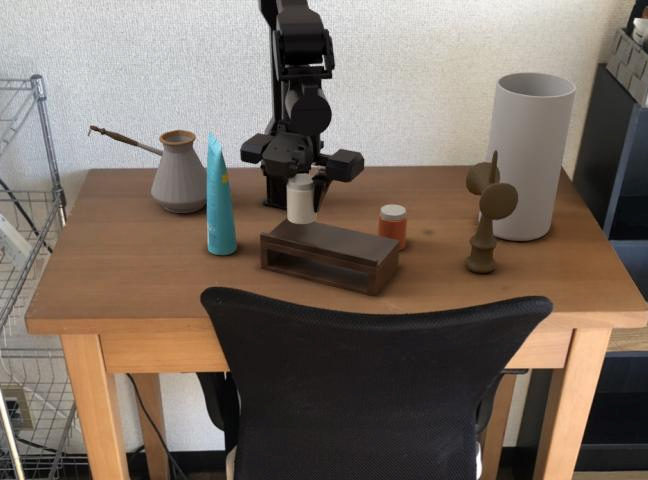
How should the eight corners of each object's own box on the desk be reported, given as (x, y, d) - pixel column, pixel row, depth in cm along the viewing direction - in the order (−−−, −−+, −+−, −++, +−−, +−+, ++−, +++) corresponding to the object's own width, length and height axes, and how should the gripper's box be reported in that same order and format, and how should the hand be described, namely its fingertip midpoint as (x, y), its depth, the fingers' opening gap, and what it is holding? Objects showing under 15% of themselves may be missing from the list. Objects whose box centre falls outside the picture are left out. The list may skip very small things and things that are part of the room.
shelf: (261, 268, 138) (259, 234, 134) (289, 242, 145) (288, 209, 141) (374, 296, 131) (376, 261, 127) (398, 268, 138) (400, 233, 134)
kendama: (470, 283, 134) (485, 163, 122) (454, 254, 142) (467, 138, 130) (506, 281, 135) (525, 161, 123) (489, 252, 142) (505, 137, 130)
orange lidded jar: (372, 247, 143) (374, 212, 140) (383, 235, 147) (385, 201, 143) (399, 253, 142) (401, 218, 138) (409, 241, 145) (412, 206, 141)
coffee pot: (217, 190, 161) (211, 113, 152) (212, 217, 152) (206, 136, 143) (105, 191, 161) (92, 113, 152) (93, 218, 152) (79, 137, 142)
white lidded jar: (281, 220, 134) (280, 181, 130) (295, 208, 137) (295, 170, 133) (309, 226, 132) (308, 187, 128) (322, 214, 136) (322, 176, 132)
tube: (243, 255, 141) (237, 144, 129) (216, 261, 139) (207, 149, 128) (227, 236, 146) (220, 128, 135) (201, 242, 145) (191, 133, 133)
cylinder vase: (547, 213, 154) (572, 74, 139) (551, 245, 144) (579, 99, 129) (478, 208, 156) (495, 70, 141) (477, 240, 146) (496, 94, 131)
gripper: (218, 118, 122) (225, 217, 131) (335, 140, 115) (334, 242, 125) (256, 95, 130) (259, 190, 139) (367, 114, 123) (363, 212, 133)
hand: (302, 208), depth 134 cm, fingers closed on white lidded jar, 5 cm apart
